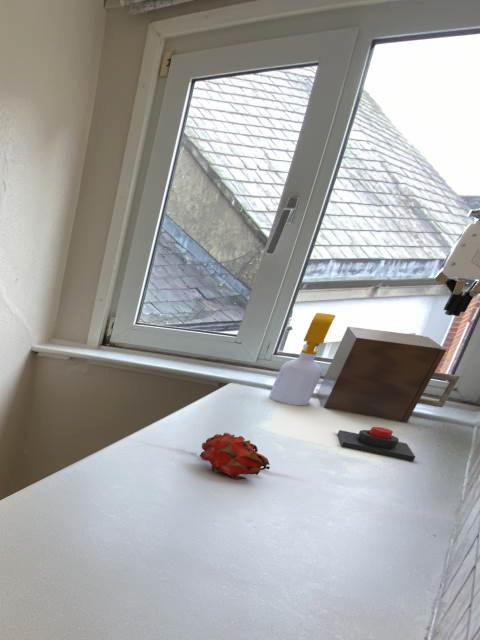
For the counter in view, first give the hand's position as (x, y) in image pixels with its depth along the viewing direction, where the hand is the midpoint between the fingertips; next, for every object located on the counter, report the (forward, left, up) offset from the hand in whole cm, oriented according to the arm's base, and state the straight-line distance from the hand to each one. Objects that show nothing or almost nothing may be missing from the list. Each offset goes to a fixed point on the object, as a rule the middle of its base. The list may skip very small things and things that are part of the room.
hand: (451, 314), depth 114 cm
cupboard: (+1, -36, -30) cm, 47 cm away
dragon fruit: (+28, +44, -30) cm, 61 cm away
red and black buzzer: (+2, +6, -30) cm, 31 cm away
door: (-10, -36, -30) cm, 47 cm away
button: (+2, +6, -26) cm, 27 cm away
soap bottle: (+17, -26, -30) cm, 43 cm away
